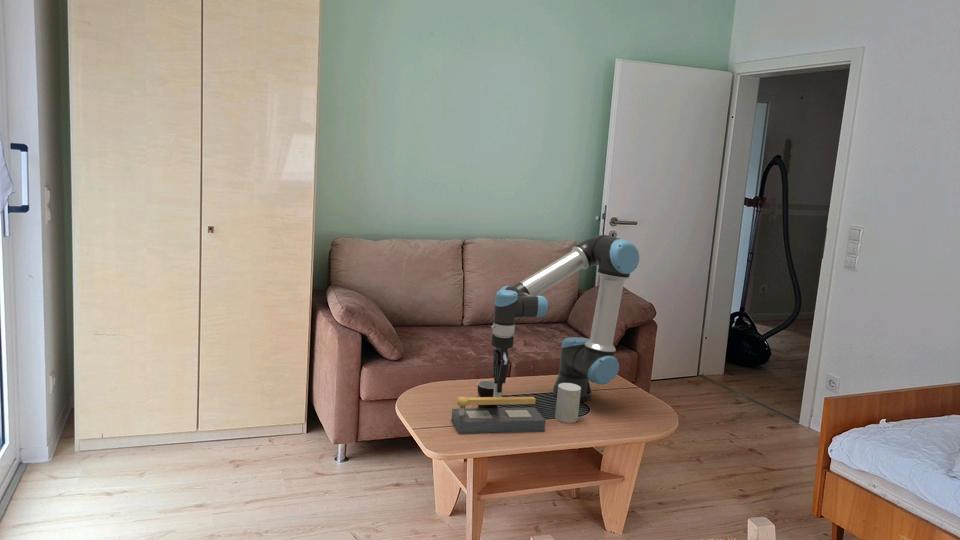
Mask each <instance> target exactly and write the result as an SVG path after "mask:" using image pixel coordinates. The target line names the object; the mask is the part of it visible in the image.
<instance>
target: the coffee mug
mask: <svg viewBox="0 0 960 540" xmlns="http://www.w3.org/2000/svg"><path fill="white" fill-rule="evenodd" d="M493 393H494V380H480V381H478V382H477V397H493ZM498 405H499V404H497V405H477V407H478V408H498Z"/></svg>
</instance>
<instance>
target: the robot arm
mask: <svg viewBox="0 0 960 540" xmlns="http://www.w3.org/2000/svg"><path fill="white" fill-rule="evenodd" d="M639 264H640V252H639V250H638V248H637V247H636V245H635V244H634V243H633V242H631V241H629V240H626V239H624V238H619V237H615V236H611V235H608V234H598V235H596V236H592V237H589V238H587V239H585V240H583V241H582V242H579V243H578V244H577V245H575V246H573V247H572V248H571V251H570V252H569V253H567V254H564V255H563V256H561V257H560V258H558V259H557V260H555V261H553V262H551V263H550V264H548V265H546V266H545V267H543V268H541V269H539V270H538V271H537V272H535V273H533V274H531V275H530V276H528V277H526V278H524V279H522V280H521V281H520V282H518V283H516V284H515V285H504V286H502V287H501V288H500V289H499V290H497V292H496V294H495V298H494V303H493V304H494V306H493V307H494V310H493V321H492V322H493V323H492V325H491V329H492V336H491V342H490V343H491V346H492V347H494V349H493V350H492V353H493V356H492V357H493V358H492V361H493V362H492V363H493V365H492V366H493V367H492V370H493V371H492V378H493V381H494V393H493V397H503V389H504V388H503V386H504V384H506V380H507V375H508V369H509V365H510V359H508V358H509V352H508V349H511V348H513V346H514V341H515V340H514V335H515V329H516V319H525V318H526V319H527V318H528V319H529V318H531V319H532V318H535V319H537V318H542V317H545V316H546V315H547V314H548V310H549V304H548V299H547V298H546V297H545V296H544V295H541V294H542V293H544V292H545V291H547V290H549V289H551V288H553V286H555V285H557V284H559V283H560V282H562V281H563V280H565V279H567V278H569V277H570V276H572V275H573V274H575V273H577V272H578V271H579V272H580V270H582V269H583V270H587V269H589V268H591V267H593V266H598V269H597V274H598V275H599V278H600V281H599V285H598V286H599V287H598V293H597V298H596V303H595V308H594V314H593V319H592V325H591V330H590V334H589V335H590V337H589V338H587V337H580V336H579V337H575V336H573V337H566V338H564V339H563V340H562V343H561V347H560V349H561V351H560V361H559V369H558V371H559V372H558V375H557V377H556V380H555V382H554V384H553V387H552V395H553V396H555V397H556V398H557V392H558V385H559V384H561V383H572V384H576V385H578V386H580V387H581V393H580V402H579V403H581V402H587V401H590V399H591V398H592V388H591V384H590V382H591V383H594V384H596V385H599V386H600V385H607V384H609V383H610V382H611V381H612V380H614V379H615V378H616V377H617V375H618V373H619V369H620V363H619V361H618V359H617V358H616V357H615V356H616V347H615V346H614V338H615V333H616V328H617V323H618V317H619V312H620V306H621V300H622V296H623V290H624V284H625V282H626V281H627V280H628V279H630V275H631V273H634V271H635V269H637V268H638V266H639Z"/></svg>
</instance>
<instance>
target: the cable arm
mask: <svg viewBox="0 0 960 540" xmlns="http://www.w3.org/2000/svg"><path fill="white" fill-rule="evenodd" d="M536 400H537V398H535V396H502V397H478V396H477V397H475V396H474V397H472V396H471V397H467V396H458V397H457V402H456V403H457V406H465V407H467V406H478V405H497V404H498V405H536ZM498 405H497V406H498Z"/></svg>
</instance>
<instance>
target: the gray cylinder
mask: <svg viewBox="0 0 960 540" xmlns="http://www.w3.org/2000/svg"><path fill="white" fill-rule="evenodd" d="M580 393H581V387H580V386H578V385H576V384H572V383H561V384H559V385H558V392H557V397H556V404H555V413H554V418H556V419H557V421H558V420H559V421H558V422H561V421H562V422H561V423H565V422H568V423H567V424H573V423H572V422H574V423H577V422H578V418H579V412H580V411H579V410H580V409H579V408H580V403H581V402H580ZM556 419H555V420H556ZM576 421H577V422H576ZM570 422H571V423H570Z"/></svg>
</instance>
